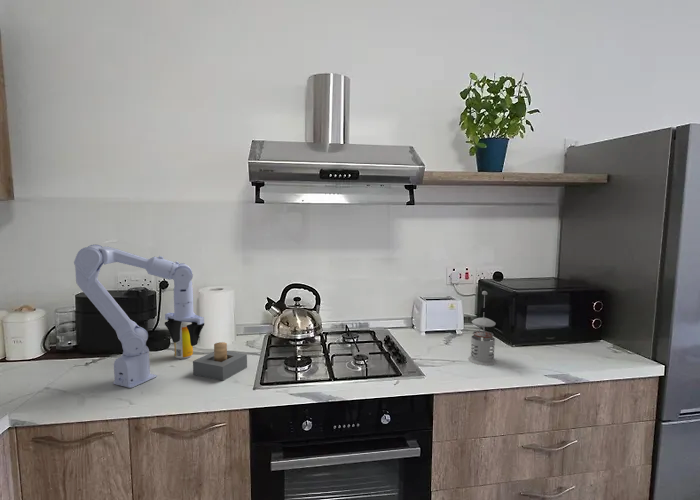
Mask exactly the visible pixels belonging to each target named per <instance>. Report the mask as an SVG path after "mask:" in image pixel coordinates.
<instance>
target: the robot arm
mask: <svg viewBox="0 0 700 500" xmlns="http://www.w3.org/2000/svg"><path fill="white" fill-rule="evenodd" d="M114 263H118V264H123V265H129V266H132V267H137V268H140V269H145V271H146V273H147V274H148V275H151V276H154V277H158V278H162V279H166V280H173V284H174V285H173V286H174V287H173V309H174V310H173V312H167V313H165V314H164V319H165V320H166V321H165V322H164V326H165V327H166V329H167V330H168V332H169V334H170V336H171V341H172V343H173V344H174V343H176V342H178V341H180V327H181V323H182V321H183V322H190V323H192V324H189V325H187V328H188V331H189V335H190V343H191V346H194V347H195V346H196V345H198V343H199V339H200V335H201V332H202V329H203V328H204V326H205V317H203V316H200V315H197V314H196V313H195V312H194V288H193V281H192V280H193V276H194V274H193V270H192V268H191V266H189V265H188V264H186V263H184V262H183V263H182V262H181V263H180V262H179V261H178V260H176V261H172V260H169V259H165V258H164V256H162V255H159V256H153V257H150V258H148V257H147V258H146V257H143V256H141V255H137V254H134V253H131V252H128V251H125V250H121V249H119V248H115V247H112V246H106V245H105V246H103V245H100V244H90V245H88V246H86V247H83V248H81V249H79V251H78V252H77V254H76V256H75V259H74V261H73V264H74V270H75V281H76V284H77V286H78V287H79V289H80V290H81V291H82V292H83V293H84V295H85V296H86V297H87V298H88V299H89V301H90V302H91V303H92V304H93V305H94V307H95V308H96V309H97V311H99V313H100V314H101V316H103V318H104V319H105V320H106V321H107V323H109V325H110V326H111V327H112V329H114V331H115V333H116V335H117V336H116V337H117V338H118V340H119V341H120V343H121V346H122V350H123V351H122V354H121V356H119V357H117V358H116V359H115V360H114V363H113V372H114V381H113V382H112V385H117V386H121V387H125V388H129V389H132V388H135V387H136V386H137V387H138V386H139V385H141V384H143V383H146V382H148V381H150V380H152V379H155V378H157V376H158V375H156V374H155V373H154V374H153V373H151V370H150V369H151V363H150V362H151V361H150V349H149V347H148V346H147V341H148V339H149V333H148V331H147V330H146V329H145V328H144V327H141V326H139V325H138V324H137V322H135V321H133V319H130V317H129V316H128V314H127V313H126V311H124V309H123V308H122V307H121V306H120V304H118V302H117V301H116V299H115V298H114V297H113V296H112V295H111V294H110V292H109V291H108V290H107V288H106V287H105V286H104V284H103V283H101V282H100V280H99V274H100V270H101V267H102V266H103V265H109V264H114Z"/></svg>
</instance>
